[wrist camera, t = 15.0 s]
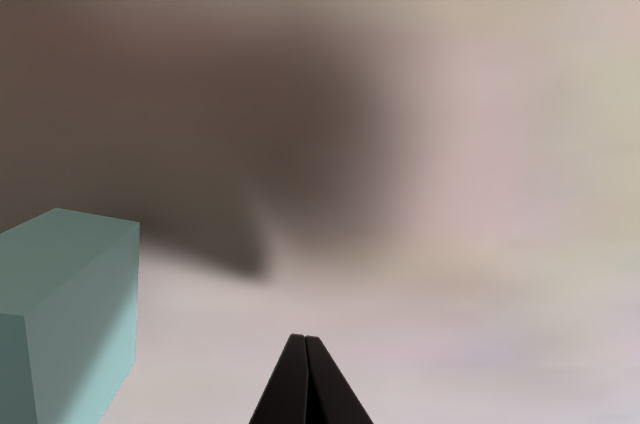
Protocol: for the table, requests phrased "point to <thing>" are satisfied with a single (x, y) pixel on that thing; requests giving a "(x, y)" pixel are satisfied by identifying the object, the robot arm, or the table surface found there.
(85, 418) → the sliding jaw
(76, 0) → the table surface
